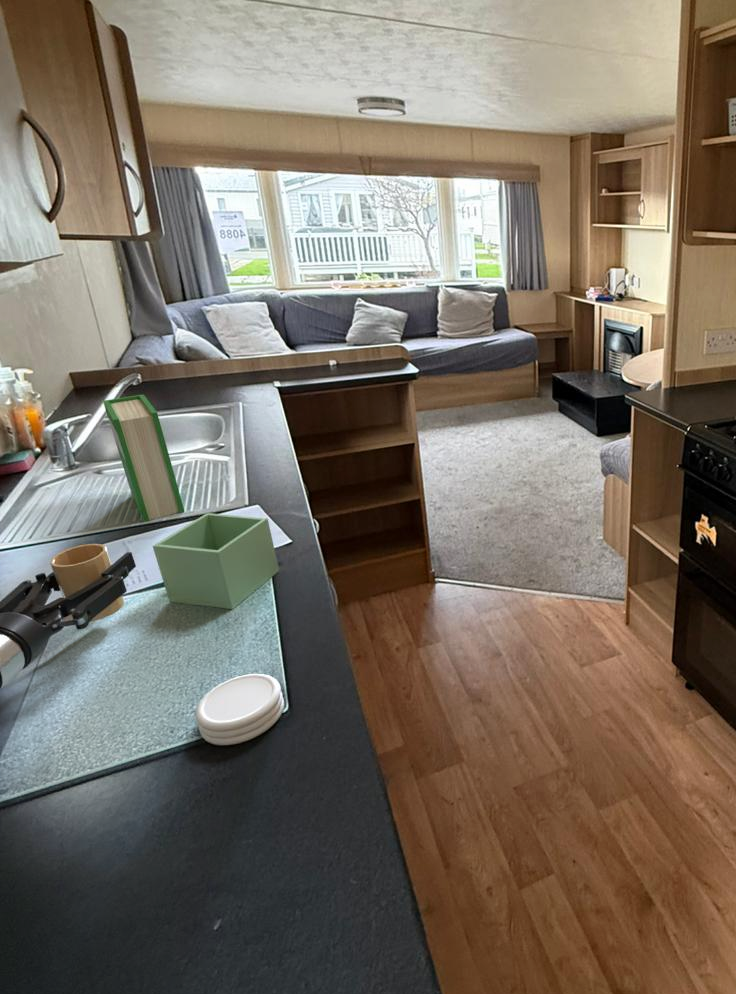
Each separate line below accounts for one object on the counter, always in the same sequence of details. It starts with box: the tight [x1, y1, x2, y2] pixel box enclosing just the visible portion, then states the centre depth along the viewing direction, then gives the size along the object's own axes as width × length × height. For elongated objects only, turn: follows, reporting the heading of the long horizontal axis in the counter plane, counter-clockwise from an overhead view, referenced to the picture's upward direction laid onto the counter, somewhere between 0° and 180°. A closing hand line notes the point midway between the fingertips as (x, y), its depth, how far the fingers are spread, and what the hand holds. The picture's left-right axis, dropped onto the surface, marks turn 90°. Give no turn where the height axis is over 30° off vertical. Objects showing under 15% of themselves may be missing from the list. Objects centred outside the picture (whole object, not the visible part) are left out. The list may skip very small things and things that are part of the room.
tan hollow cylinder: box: [49, 543, 125, 623], centre depth 101 cm, size 7×7×10 cm
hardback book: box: [102, 394, 186, 523], centre depth 141 cm, size 18×7×24 cm, turn 41°
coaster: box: [195, 673, 285, 746], centre depth 86 cm, size 10×10×4 cm
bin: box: [152, 512, 280, 610], centre depth 114 cm, size 12×12×11 cm
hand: (106, 560), depth 105 cm, fingers closed on tan hollow cylinder, 7 cm apart
